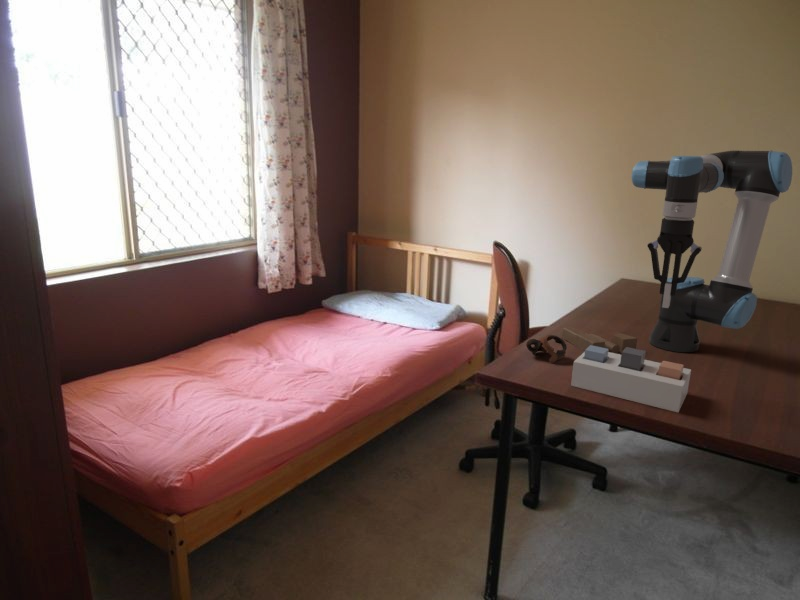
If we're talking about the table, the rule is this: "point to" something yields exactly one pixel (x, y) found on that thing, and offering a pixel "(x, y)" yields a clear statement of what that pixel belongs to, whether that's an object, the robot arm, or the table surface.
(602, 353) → the slate key
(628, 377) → the key console
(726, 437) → the table surface
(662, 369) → the terracotta key
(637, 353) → the charcoal key
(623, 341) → the wooden block set
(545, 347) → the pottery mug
